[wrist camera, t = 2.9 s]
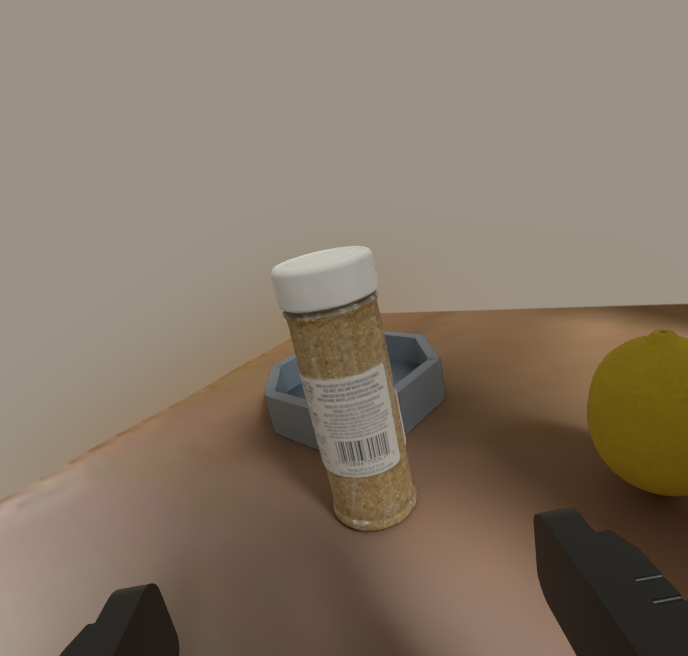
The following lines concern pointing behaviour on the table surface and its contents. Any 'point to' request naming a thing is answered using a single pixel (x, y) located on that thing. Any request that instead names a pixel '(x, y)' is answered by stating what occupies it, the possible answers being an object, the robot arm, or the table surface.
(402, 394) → the bowl
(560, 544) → the robot arm
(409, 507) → the spice jar
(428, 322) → the table surface
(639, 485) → the lemon
